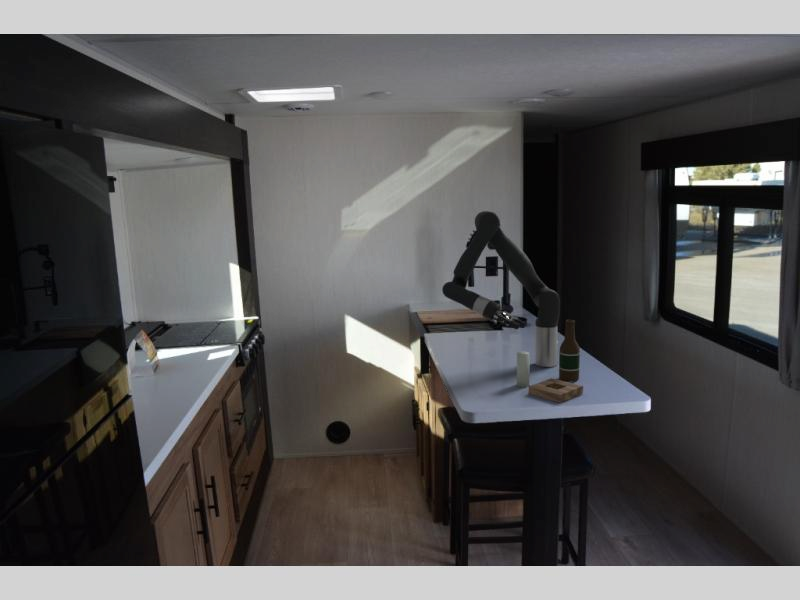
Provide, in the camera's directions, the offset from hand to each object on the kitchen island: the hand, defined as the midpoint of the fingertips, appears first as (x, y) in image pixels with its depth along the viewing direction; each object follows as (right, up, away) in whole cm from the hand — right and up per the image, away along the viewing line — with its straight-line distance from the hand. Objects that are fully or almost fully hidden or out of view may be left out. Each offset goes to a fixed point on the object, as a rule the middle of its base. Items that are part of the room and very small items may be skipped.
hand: (521, 326), depth 242 cm
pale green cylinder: (0, -23, -4) cm, 23 cm away
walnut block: (+9, -24, -15) cm, 30 cm away
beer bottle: (+19, -21, +2) cm, 29 cm away
